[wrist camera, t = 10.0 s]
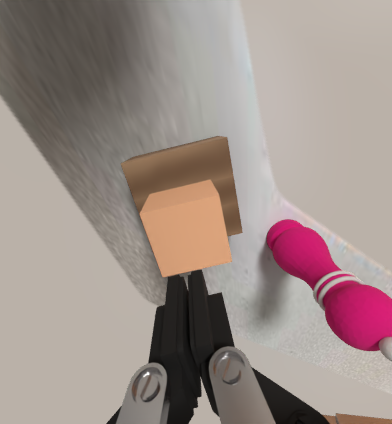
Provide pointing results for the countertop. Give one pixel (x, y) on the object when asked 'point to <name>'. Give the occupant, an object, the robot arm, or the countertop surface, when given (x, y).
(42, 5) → the countertop surface
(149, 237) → the cardboard-colored cube
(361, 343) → the pepper mill
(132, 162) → the post block
